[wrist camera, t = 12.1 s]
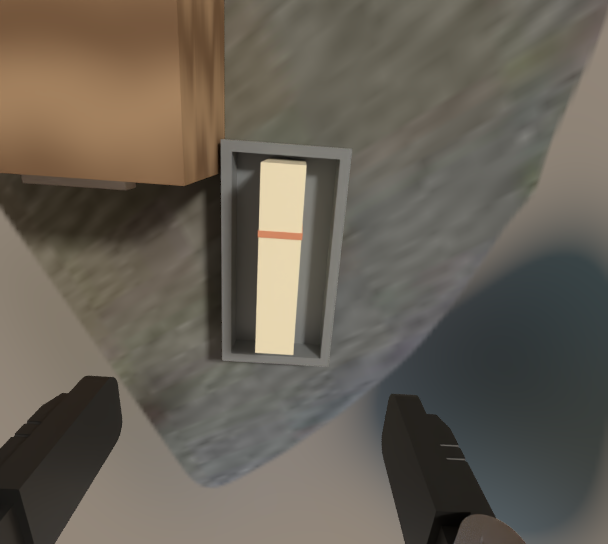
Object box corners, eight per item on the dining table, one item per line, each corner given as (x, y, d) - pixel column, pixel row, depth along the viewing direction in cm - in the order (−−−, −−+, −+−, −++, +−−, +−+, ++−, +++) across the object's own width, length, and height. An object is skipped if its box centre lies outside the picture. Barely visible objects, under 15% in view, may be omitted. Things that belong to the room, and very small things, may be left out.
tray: (228, 139, 25) (220, 139, 23) (347, 148, 26) (352, 148, 23) (228, 342, 31) (222, 360, 28) (326, 348, 31) (328, 366, 29)
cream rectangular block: (269, 157, 25) (259, 162, 20) (306, 160, 25) (307, 165, 20) (263, 312, 29) (254, 352, 24) (295, 314, 29) (293, 355, 24)
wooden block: (18, -91, 21) (-192, -264, 12) (223, -72, 21) (167, -228, 12) (57, 167, 26) (-72, 180, 17) (224, 179, 26) (184, 198, 17)
